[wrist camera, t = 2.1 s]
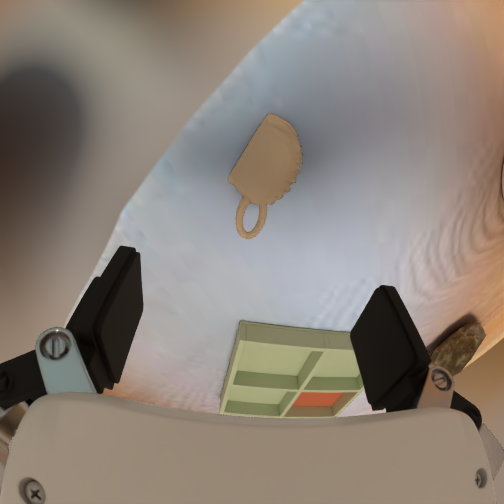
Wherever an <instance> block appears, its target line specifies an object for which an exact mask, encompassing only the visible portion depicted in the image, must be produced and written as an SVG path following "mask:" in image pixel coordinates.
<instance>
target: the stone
mask: <svg viewBox="0 0 504 504" xmlns="http://www.w3.org/2000/svg"><path fill="white" fill-rule="evenodd" d="M485 336H486V334H485V331H484V330H483V328H482V327H481V326H480V324H466V325H464V326H463V327H461V328H459V329H458V330H457V331H456V332H455V333H452V334H451V335H450V336H449V337H448V338H447V339H446V340H445V341H443V342H442V343H441V344H440V345H439V346H437V347H436V348H435V350H434V352H433V354H432V356H431V357H430V358H431V360H432V362H431V363H430V364H429V365H428V366H429V368H431V367H432V366H435V365H438V366H442V367H444V368H445V369H447V370H448V371H449V372H450V374H451V375H452V377H453V376H454V375H456V374H458V373H459V372H461V371H462V369H463V368H464V367H465V366H466V364H467V363H468V362H469V361H470V360H471V358H472V357H473V355H474V354H475V352H476V350H477V349H478V347H479V346H480V344H481V343H482V341H483V340H484V338H485Z"/></svg>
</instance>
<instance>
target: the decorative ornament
mask: <svg viewBox="0 0 504 504" xmlns="http://www.w3.org/2000/svg"><path fill="white" fill-rule="evenodd" d="M297 137H298V134H297V132H296V131H295V130H294V128H293V127H292V126H291V125H290V124H289V123H288V122H287V121H285V120H284V119H282V118H280V117H278V116H276V115H274V114H272V113H268V115H267V116H266V117H265V119H264V120H263V122H262V123H261V124H260V126H259V127H258V129H257V131H256V132H255V134H254V135H253V137H252V139H251V140H250V142H249V144H248V145H247V147H246V149H245V150H244V152H243V154H242V155H241V157H240V159H239V160H238V162H237V163H236V165H235V167H234V168H233V170H232V172H231V173H230V175H229V178H228V181H229V182H230V183H231V184H233V185H234V186H235V187H236V189H237V191H238V192H239V193H240V194H241V195H242V196H243V198H242V200H241V201H240V203H239V205H238V208H237V212H236V228H237V231H238V233H239V235H240V236H241V237H243V238H245V239H251V238H253V237H255V236H256V235H257V234H258V233H259V232H260V231H261V229H262V227H263V225H264V223H265V220H266V215H267V204H269V205H271V204H273V203H274V202H275V201H276V200H279V199H281V198H282V197H283V194H284V193H285V192H289V191H290V189H291V188H290V185H291V184H292V183H295V182H296V179H295V177H296V175H297V174H299V173H300V170H299V167H300V165H302V161H301V156H302V155H303V154H302V152H301V148H300V147H302V146H301V145H300V144H299V142H298V138H297ZM250 202H251V203H253V204H256V205H259V217H258V221H257V223H256V225H255V227H254V229H253V230H252V231H250V232H246V231H245V230H244V227H243V216H244V213H245V210H246V208H247V206H248V204H249V203H250Z"/></svg>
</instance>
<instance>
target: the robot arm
mask: <svg viewBox="0 0 504 504" xmlns="http://www.w3.org/2000/svg"><path fill="white" fill-rule="evenodd" d="M502 192H503V197H504V165H503V172H502ZM142 312H143V294H142V280H141V261H140V253H138V252H136V249H135V248H133V247H127V246H120V247H119V248H118V250H117V251H116V253H115V254H114V256H113V257H112V259H111V261H110V262H109V264H108V265H107V267H106V269H105V270H104V272H103V274H102V275H101V277H95V278H94V279H93V281H92V282H91V284H90V286H89V287H88V289H87V291H86V292H85V294H84V296H83V297H82V299H81V301H80V303H79V304H78V306H77V308H76V310H75V311H74V313H73V315H72V317H71V319H70V321H69V322H68V324H67V326H66V328H62V327H54V328H50V329H47V330H46V331H44V332H43V333H42V334H40V336H39V337H38V339H37V341H36V345H35V350H33V351H30V352H28V353H26V354H23V355H21V356H18V357H16V358H14V359H11V360H8V361H6V362H4V363H1V364H0V504H497V502H496V495H495V490H494V485H493V480H494V478H495V477H496V475H497V473H498V471H499V468H500V467H501V464H502V463H503V460H504V449H503V447H502V446H501V444H500V443H499V442H498V441H497V439H496V438H495V437H494V436H493V434H492V433H491V432H490V430H489V429H488V428H487V427H486V426H485V424H482V418H481V414H480V411H479V410H478V408H477V407H476V406H475V405H473V404H472V403H470V402H469V401H468V400H466V399H465V398H464V397H462V396H461V395H459V394H458V393H457V392H455V391H454V380H453V377H452V375H451V374H450V372H449V371H448V370H447V369H445V368H444V367H442V366H438V365H435V366H432V367H431V368H429V366H428V365H429V364H430V363H431V362H432V360H431V358H430V356H429V354H428V351H427V349H426V347H425V345H424V343H423V341H422V339H421V337H420V335H419V333H418V331H417V328H416V326H415V324H414V323H413V321H412V319H411V317H410V315H409V313H408V311H407V309H406V307H405V305H404V303H403V301H402V300H401V298H400V296H399V294H398V292H397V290H396V289H395V287H393V286H386V285H381V286H380V287H379V288H377V289H375V291H374V293H373V295H372V296H371V298H370V300H369V302H368V303H367V305H366V307H365V309H364V310H363V312H362V314H361V315H360V317H359V319H358V320H357V322H356V324H355V325H354V327H353V329H352V330H351V333H350V340H351V343H352V347H353V350H354V353H355V357H356V360H357V364H358V367H359V371H360V374H361V378H362V381H363V385H364V389H365V393H366V396H367V400H368V403H369V404H371V406H372V410H373V411H375V410H383V409H384V408H386V413H380V414H371V415H361V416H348V417H331V418H262V417H245V416H232V415H221V414H212V413H204V412H197V411H190V410H183V409H177V408H171V407H165V406H159V405H154V404H148V403H143V402H139V401H134V400H129V399H124V398H119V397H114V396H109V395H104V394H101V393H103V390H104V388H107V389H111V390H112V389H113V386H114V383H119V381H120V378H121V375H122V372H123V369H124V365H125V362H126V359H127V356H128V353H129V350H130V347H131V344H132V341H133V338H134V335H135V332H136V329H137V326H138V324H139V321H140V318H141V315H142ZM481 424H482V425H481ZM16 430H17V431H16ZM13 436H14V439H13V442H12V445H11V449H10V452H9V449H8V446H9V442H10V440H11V439H12V437H13Z"/></svg>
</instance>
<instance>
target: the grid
mask: <svg viewBox="0 0 504 504" xmlns="http://www.w3.org/2000/svg"><path fill="white" fill-rule="evenodd" d="M350 333H351V332H338V331H326V330H315V329H305V328H295V327H286V326H277V325H269V324H261V323H254V322H246V321H240V325H239V329H238V333H237V337H236V341H235V345H234V348H233V352H232V356H231V360H230V364H229V368H228V371H227V375H226V379H225V383H224V387H223V391H222V394H221V398H220V410H219V413H221V414H230V415H240V416H252V417H268V418H331V417H337V416H338V415H339V414H340V413H341V412H342V411H343V410H344V409H345V408H346V407H347V406H348V405H349V404H350V403H351V402H352V401H353V400H354V399H355V398H356V397H357V396H358V395H359V394H360V393H361V392H362V391H363V390H364V385H363V381H362V378H361V374H360V371H359V367H358V364H357V360H356V357H355V353H354V350H353V347H352V343H351V340H350Z"/></svg>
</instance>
